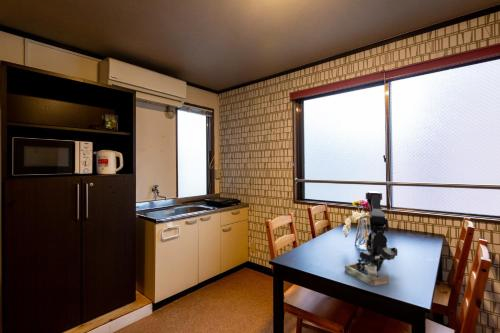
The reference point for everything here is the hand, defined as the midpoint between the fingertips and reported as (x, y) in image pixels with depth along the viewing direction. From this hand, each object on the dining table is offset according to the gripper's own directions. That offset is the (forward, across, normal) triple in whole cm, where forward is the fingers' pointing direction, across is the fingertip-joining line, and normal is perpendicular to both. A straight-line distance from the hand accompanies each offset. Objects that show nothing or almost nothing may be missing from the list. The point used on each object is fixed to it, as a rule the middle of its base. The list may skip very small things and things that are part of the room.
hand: (377, 270), depth 122 cm
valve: (+2, -6, +1) cm, 6 cm away
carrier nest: (+1, -8, 0) cm, 8 cm away
